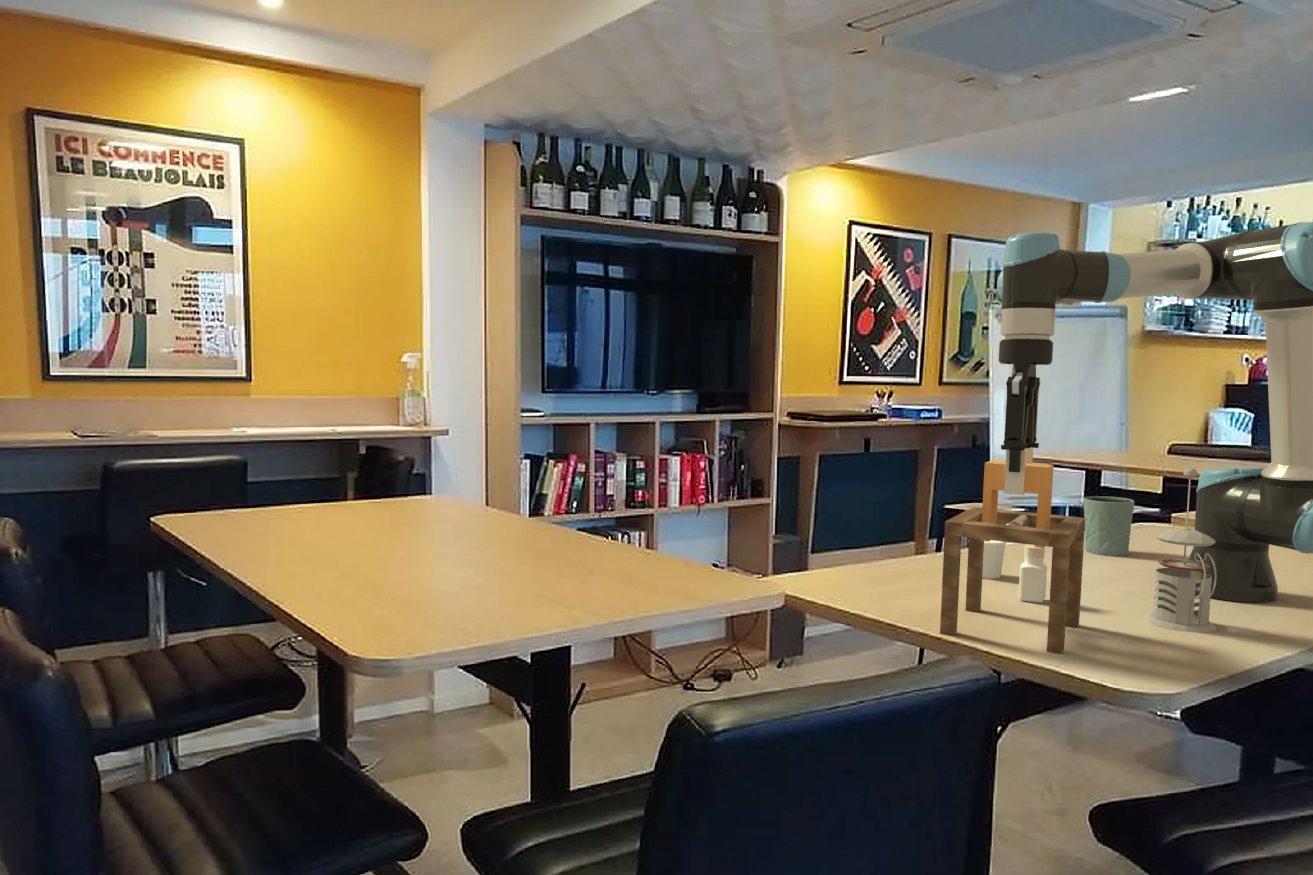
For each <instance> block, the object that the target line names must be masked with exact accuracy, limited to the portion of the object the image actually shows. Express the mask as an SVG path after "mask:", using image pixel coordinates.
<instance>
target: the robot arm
mask: <svg viewBox="0 0 1313 875" xmlns="http://www.w3.org/2000/svg"><path fill="white" fill-rule="evenodd" d="M1002 268H1003V269H1002V270H1001V272H1000V273H999V276H998V278H997V281H996V285H997V286H996V288H997V289H996V290H997V294H998V296H999V298H1000V300H1001V315H998V316H997V318H996V321H997V322H998V323H1001V324H1000V331H999V332H1000V335H1001V336H1002V337H1004V339H1000V341H999V345H998V346H999V348H998V362H999V363H1000V364H1002V365H1012V366H1013V368H1012V373H1011V376H1008V378H1007V380H1006V383H1005V385H1006V401H1005V402H1006V405H1005V423H1004V438H1003V439H1004V440H1003V444H1001V445H1000V450H1002V451H1004V450H1005V451H1006V453H1005V461H1006V468H1005V487H1004V491H1003V493H1004V494H1007V495H1021V496H1024V495H1025V492H1024V487H1025V470H1026V463H1034V462H1033V461H1034V449H1038V448H1040V447H1039V446H1040V443H1039V442H1037V438H1038V437H1037V430H1038V429H1037V426H1038V425H1037V424H1038V410H1039V408H1038V406H1039V392H1040V387H1041V378H1040V377H1037V365H1038V366H1049V365H1051V364H1052V362H1053V354H1054V353H1053V352H1054V342H1053V341H1052V340H1050V338H1051V337H1053V336H1054V335H1055V330H1056V329H1055V326H1056V325H1055V324H1056V309H1057V308H1056V307H1057V306H1056V305H1059V304H1060V305H1061V304H1071V303H1084V302H1085V303H1086V302H1090V303H1091V302H1092V303H1094V304H1099V303H1112V302H1113V303H1114V302H1116V301H1118V300H1119V299H1132V298H1145V297H1155V296H1158V297H1159V296H1168V295H1169V296H1170V295H1176V296H1178V297H1179V298H1181V299H1184V300H1185V299H1186V300H1190V299H1192V300H1193V299H1221V300H1222V299H1223V300H1235V301H1236V300H1237V301H1238V300H1240V301H1242V300H1243V301H1246V300H1251V301H1252V300H1253V312H1254V313H1255V314H1256V315H1257V316H1259V317H1260V318H1262V319H1263V320H1264V322H1265V341H1266V344H1265V345H1266V363H1267V364H1266V366H1267V369H1266V370H1267V387H1268V390H1267V391H1268V413H1269V434H1270V435H1269V437H1270V456H1271V457H1270V458H1271V461H1270V463H1269V464H1268V465H1267V466H1266V467H1249V468H1248V467H1247V468H1246V467H1245V468H1244V467H1242V468H1239V467H1238V468H1237V467H1236V468H1235V467H1234V468H1232V467H1231V468H1207V469H1204V470H1203V471H1202V472H1200V474H1199V477H1198V483H1197V488H1196V490H1195V491H1196V494H1195V496H1196V499H1195V518H1194V519H1195V520H1194V521H1195V522H1194V530H1196V531H1199V532H1201V533H1203V534H1205V535H1208V536H1210V537H1211V538H1212V539H1213V540H1215V543H1214V544H1213V545H1211V546H1192V549H1191V552H1190V554H1189V557H1188V558H1187V561H1188V560H1189V561H1190V560H1191V561H1193V562H1197V561H1195V559H1194V554H1195V553H1198V554H1199V555H1200V556H1201V558H1202V560H1203V559H1204V558H1205V554H1206V553H1209V555H1210V556H1211V557H1212V559H1213V561H1214V564H1215V567H1216V575H1217V576H1216V586H1215V589H1214V592H1213V594H1212V595H1211V596H1210V599H1211V598H1212V599H1218V600H1223V601H1231V602H1243V603H1267V602H1268V603H1270V602H1274V601H1276V600H1278V590H1279V589H1278V587H1279V586H1278V582H1277V580H1276V576H1275V573H1274V570H1273V566H1272V563H1271V560H1270V556H1269V555H1270V554H1269V552H1270V545H1271V546H1275V547H1280V548H1284V549H1289V550H1294V551H1297V552H1299V553H1302V554H1305V555H1306V554H1313V221H1307V222H1306V221H1305V222H1304V221H1300V222H1296V223H1292V224H1285V225H1279V226H1274V227H1267V228H1263V229H1262V228H1261V229H1256V230H1246V231H1243V232H1238V233H1234V234H1229V235H1226V236H1222V237H1218V238H1213V239H1209V240H1204V241H1197V242H1189V243H1184V244H1182V245H1180V246H1178V247H1177V248H1176V249H1172V250H1159V251H1157V250H1156V251H1145V252H1143V251H1142V252H1129V253H1112V252H1108V251H1104V250H1102V251H1092V250H1091V251H1090V250H1089V251H1086V250H1067V249H1064V248H1063V249H1062V248H1061V246H1060V238H1059V236H1058V235H1057V234H1055V233H1051V232H1046V231H1045V232H1042V231H1040V232H1039V231H1038V232H1036V231H1035V232H1033V231H1032V232H1022V233H1017V234H1013V235H1011V236H1009V238H1007V240H1006V242H1005V248H1004V255H1003V263H1002ZM1196 559H1197V560H1200V558H1199V556H1198V555H1197V554H1196ZM1203 562H1204V563H1206V564H1207V565H1209V566H1210V569H1209V570H1206V573H1208V574H1210V575H1211V576H1212V584H1211V592H1212V590H1213V586H1214V580H1215V572H1214V566H1213V563H1212V561H1211V559H1210V557H1209V556H1208V555H1206V560H1205V561H1203ZM1201 563H1202V562H1201ZM1200 572H1204V571H1200ZM1200 585H1201V583H1196V587H1200ZM1199 594H1200V591H1197V592H1195V595H1199Z"/></svg>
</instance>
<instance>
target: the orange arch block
mask: <svg viewBox="0 0 1313 875" xmlns="http://www.w3.org/2000/svg"><path fill="white" fill-rule="evenodd" d="M1005 468H1006V460H994V459H993V460H989V461H985V462H984V472H983V473H984V474H983V489H982V491H983V492H982V507H981V508H982V522H984V523H994V524H996V523H997V509H998V506H999V505H998V504H999V502H998V501H999V491H1002V492H1004V487H1005ZM1053 479H1054V464H1049V463H1048V464H1047V463H1035V462H1033V463H1026V470H1025V487H1024V494H1025V493H1026V494H1035V495H1036V494H1037V502H1036V503H1037V504H1036V508H1037V509H1036V513H1037V520H1036V528H1042V529H1050V518H1051V515H1052V500H1053V484H1054V483H1053V482H1054V480H1053ZM981 541H988V542H989V541H990V540H986V539H981ZM1035 547H1039V548H1044V547H1046V546H1039V545H1035Z"/></svg>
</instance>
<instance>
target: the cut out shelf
mask: <svg viewBox="0 0 1313 875" xmlns="http://www.w3.org/2000/svg"><path fill="white" fill-rule="evenodd" d="M1036 520H1037V512H1027V511H1017V510H1006V509H998V508H997V523H996V524H994V523H984V522H982V507H979V506H978V507H975V506H974V507H973V506H972V507H971V508H968V509H967V510H964V511H962V512H960V513H959V514H957V515H955V516H953V517H952V518H950V519H947V520H945V521H944V540H943V541H944V543H943V544H944V545H943V559H942V560H943V561H942V562H943V563H942V579H941V580H942V584H941V585H942V586H941V604H940V605H941V607H940V623H939V624H940V626H939V628H940V629H939V634H943V635H948V636H955V635H956V634H957V632H958V614H959V613H958V612H959V598H960V597H959V596H960V595H959V594H960V578H961V577H960V576H961V572H960V571H961V552H962V538H968V547H967V549H968V550H967V567H966V569H967V570H966V571H967V572H966V590H965V611H969V612H974V613H978V612H980V611H981V608H982V606H981V605H982V591H983V590H982V587H983V578H982V572H983V552H984V541H981V539H986V540H995V541H1003V542H1006V543H1014V544H1021V545H1022V544H1023V545H1039V546H1045V547H1047V548H1049V547H1050V548H1052V552H1051V554H1052V555H1051V568H1050V569H1051V570H1050V571H1051V572H1050V589H1049V607H1048V623H1047V638H1046V639H1047V642H1046V643H1047V644H1046V652H1050V653H1055V654H1060V655H1062V654H1063V653H1064V651H1065V642H1066V641H1065V638H1066V627H1070V628H1071V627H1072V628H1078V627H1079V625H1080V619H1081V616H1080V615H1081V614H1080V613H1081V597H1082V582H1083V579H1082V578H1083V565H1084V564H1083V562H1084V548H1085V546H1084V545H1085V518H1084V517H1082V516H1081V517H1079V516H1069V515H1059V514H1051V518H1050V529H1042V528H1036Z"/></svg>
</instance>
